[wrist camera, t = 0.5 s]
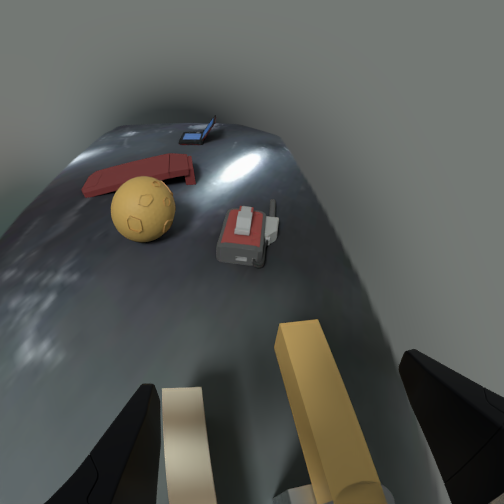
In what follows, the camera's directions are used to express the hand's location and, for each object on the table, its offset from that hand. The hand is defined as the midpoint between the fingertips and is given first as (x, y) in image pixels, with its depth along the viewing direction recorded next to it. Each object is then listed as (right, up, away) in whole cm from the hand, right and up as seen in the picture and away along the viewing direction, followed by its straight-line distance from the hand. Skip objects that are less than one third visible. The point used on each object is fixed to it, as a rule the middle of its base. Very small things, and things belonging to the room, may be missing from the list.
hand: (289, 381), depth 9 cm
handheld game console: (-18, +40, +81) cm, 92 cm away
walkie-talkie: (-2, +7, +41) cm, 41 cm away
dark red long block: (-26, +20, +54) cm, 63 cm away
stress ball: (-18, +6, +36) cm, 41 cm away
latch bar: (+3, -8, +8) cm, 12 cm away
